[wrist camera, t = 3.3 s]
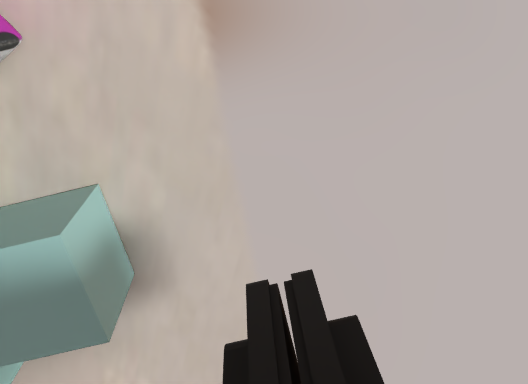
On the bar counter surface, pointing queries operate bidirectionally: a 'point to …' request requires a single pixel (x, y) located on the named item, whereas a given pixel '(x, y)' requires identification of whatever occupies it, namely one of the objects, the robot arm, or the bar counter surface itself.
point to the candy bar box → (8, 38)
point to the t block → (58, 276)
